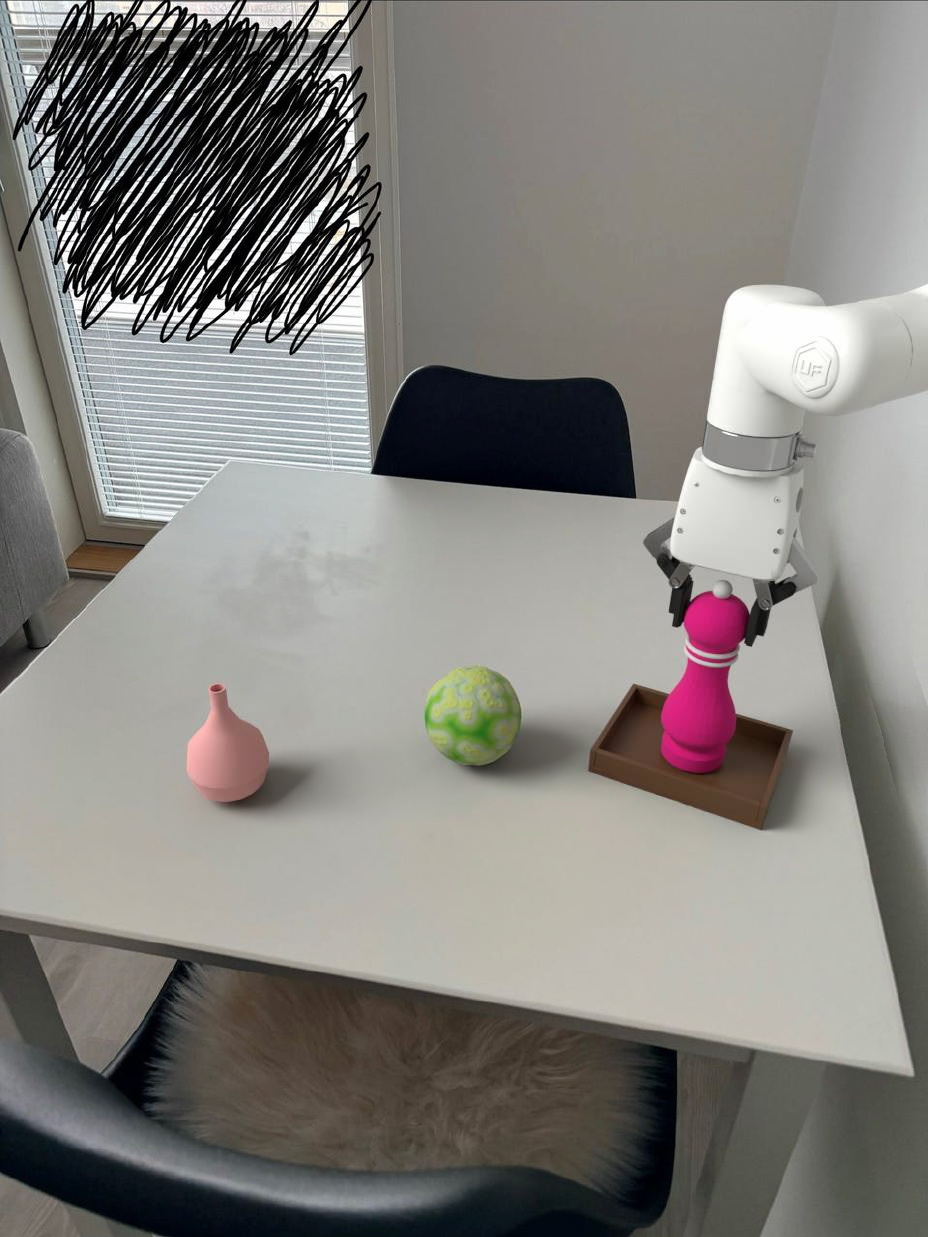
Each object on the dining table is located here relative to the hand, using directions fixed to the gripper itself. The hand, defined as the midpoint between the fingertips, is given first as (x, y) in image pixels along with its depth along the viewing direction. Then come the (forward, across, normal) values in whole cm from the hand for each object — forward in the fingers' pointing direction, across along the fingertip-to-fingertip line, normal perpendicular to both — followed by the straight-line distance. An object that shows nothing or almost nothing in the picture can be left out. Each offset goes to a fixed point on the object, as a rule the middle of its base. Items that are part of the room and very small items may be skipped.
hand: (715, 628), depth 82 cm
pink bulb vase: (+16, +38, +26) cm, 49 cm away
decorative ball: (+16, +20, +10) cm, 28 cm away
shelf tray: (+16, 0, 0) cm, 16 cm away
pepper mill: (+15, 0, 0) cm, 15 cm away
